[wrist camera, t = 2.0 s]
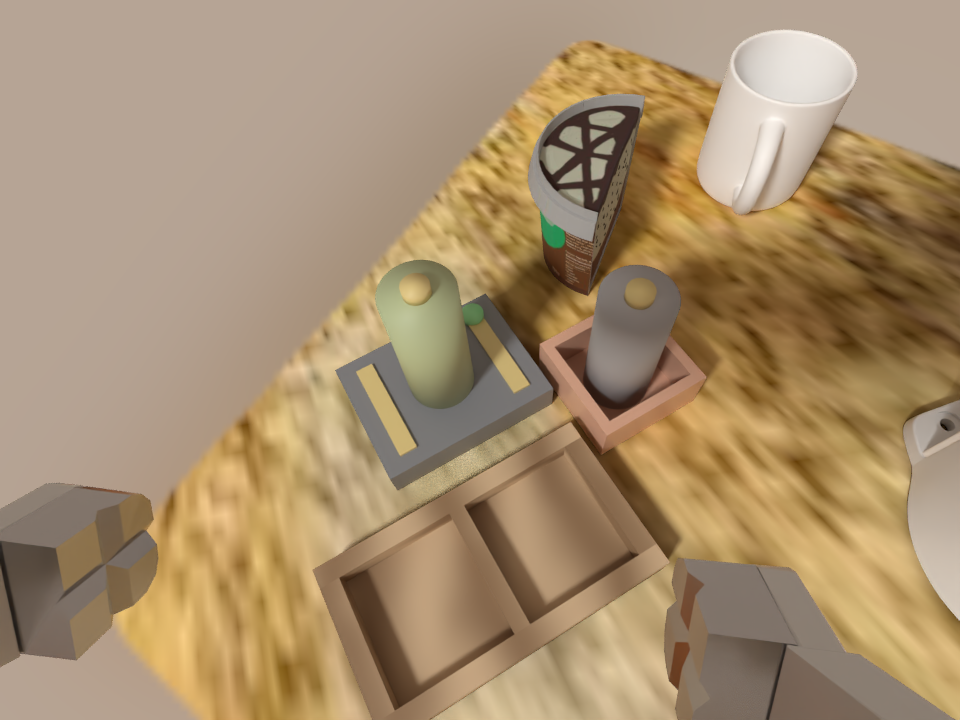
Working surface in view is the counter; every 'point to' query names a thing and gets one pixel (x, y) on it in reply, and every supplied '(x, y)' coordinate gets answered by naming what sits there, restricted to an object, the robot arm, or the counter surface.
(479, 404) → the block
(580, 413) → the pink square open box
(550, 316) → the counter surface
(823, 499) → the counter surface
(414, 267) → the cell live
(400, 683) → the brown divided tray
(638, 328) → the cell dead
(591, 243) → the food container
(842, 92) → the mug
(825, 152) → the counter surface
